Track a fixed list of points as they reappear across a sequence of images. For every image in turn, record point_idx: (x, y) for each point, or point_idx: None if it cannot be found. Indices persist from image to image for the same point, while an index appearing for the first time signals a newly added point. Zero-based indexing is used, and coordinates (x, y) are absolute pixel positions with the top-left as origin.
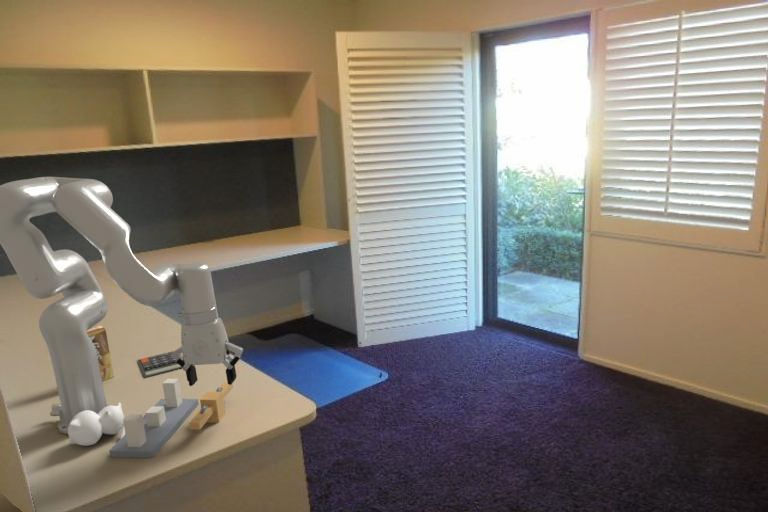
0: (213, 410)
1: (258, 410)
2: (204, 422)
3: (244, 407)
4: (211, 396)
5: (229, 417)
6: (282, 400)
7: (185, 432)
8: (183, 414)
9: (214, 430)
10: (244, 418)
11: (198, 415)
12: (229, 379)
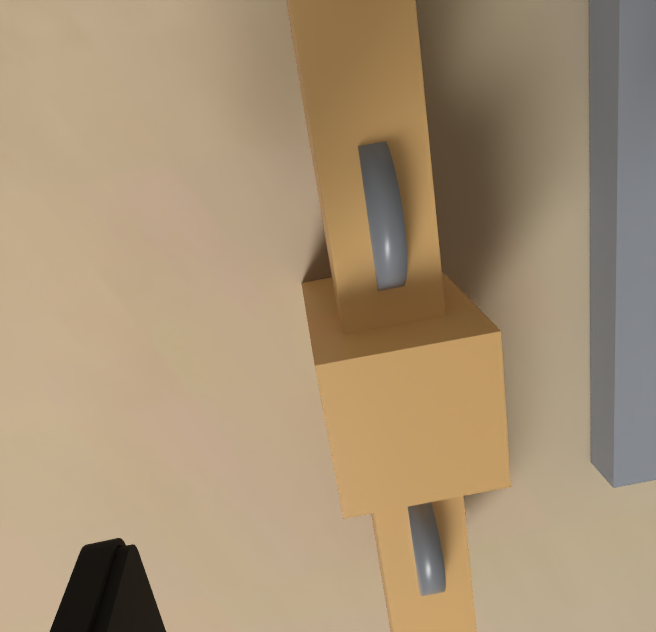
0: (336, 300)
1: (98, 484)
2: (300, 81)
3: (230, 496)
4: (408, 416)
5: (261, 359)
6: (11, 623)
7: (497, 90)
8: (624, 270)
9: (268, 165)
10: (133, 370)
11: (387, 105)
12: (60, 609)
